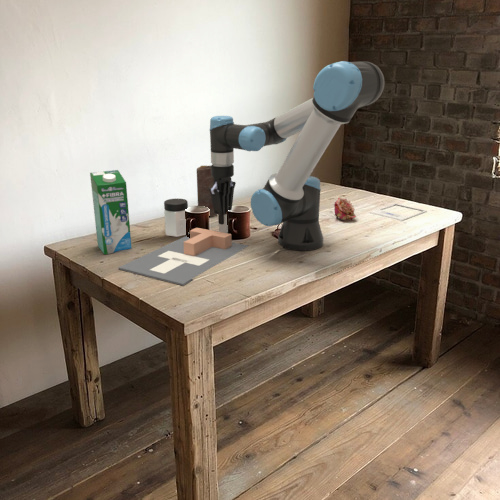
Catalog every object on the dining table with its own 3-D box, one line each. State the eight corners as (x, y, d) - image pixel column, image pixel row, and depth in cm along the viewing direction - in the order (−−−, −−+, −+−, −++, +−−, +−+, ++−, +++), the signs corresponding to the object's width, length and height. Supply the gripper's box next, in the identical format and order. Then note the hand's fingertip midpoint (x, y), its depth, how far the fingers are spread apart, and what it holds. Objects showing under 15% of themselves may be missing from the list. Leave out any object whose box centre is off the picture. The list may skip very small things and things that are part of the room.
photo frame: (370, 211, 216) (395, 203, 228) (369, 214, 217) (395, 205, 228) (402, 219, 206) (426, 210, 218) (402, 222, 207) (426, 212, 218)
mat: (249, 247, 179) (249, 245, 179) (183, 285, 150) (183, 283, 150) (190, 235, 191) (190, 233, 191) (118, 269, 162) (118, 267, 162)
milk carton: (104, 254, 173) (96, 177, 165) (97, 246, 181) (89, 172, 172) (131, 250, 177) (125, 174, 168) (124, 242, 185) (118, 169, 176)
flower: (324, 216, 206) (336, 202, 201) (330, 205, 213) (342, 191, 209) (345, 231, 206) (357, 217, 201) (350, 220, 214) (362, 206, 209)
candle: (209, 220, 208) (207, 168, 201) (194, 217, 211) (192, 166, 204) (220, 215, 214) (219, 165, 207) (205, 212, 217) (204, 163, 210)
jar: (171, 239, 187) (169, 206, 183) (161, 233, 193) (159, 200, 189) (194, 234, 192) (192, 202, 187) (183, 229, 198) (182, 197, 194)
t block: (231, 245, 179) (231, 234, 178) (207, 259, 168) (207, 246, 166) (197, 238, 186) (196, 227, 184) (171, 251, 175) (170, 239, 173)
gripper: (223, 159, 186) (224, 225, 194) (201, 166, 175) (203, 235, 183) (242, 162, 182) (242, 228, 190) (220, 169, 171) (222, 239, 180)
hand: (223, 232), depth 187 cm, fingers closed
